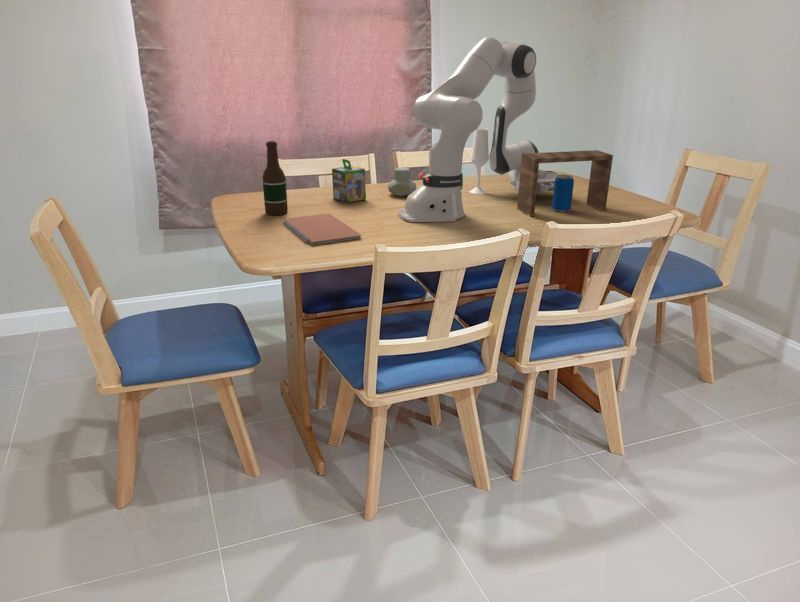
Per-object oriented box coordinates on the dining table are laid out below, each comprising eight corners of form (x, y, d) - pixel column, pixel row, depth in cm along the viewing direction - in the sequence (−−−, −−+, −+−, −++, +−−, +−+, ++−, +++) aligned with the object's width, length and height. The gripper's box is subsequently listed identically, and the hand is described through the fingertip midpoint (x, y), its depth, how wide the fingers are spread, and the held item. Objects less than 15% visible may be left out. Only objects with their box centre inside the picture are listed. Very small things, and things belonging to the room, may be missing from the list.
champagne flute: (482, 189, 249) (485, 127, 240) (489, 193, 244) (493, 130, 234) (466, 190, 248) (469, 128, 238) (473, 194, 242) (477, 130, 232)
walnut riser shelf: (529, 216, 213) (535, 158, 205) (517, 209, 222) (521, 153, 214) (605, 211, 220) (613, 155, 212) (590, 204, 229) (596, 150, 221)
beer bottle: (279, 209, 220) (274, 139, 211) (292, 213, 215) (288, 142, 206) (260, 213, 215) (254, 141, 206) (273, 217, 210) (268, 144, 201)
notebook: (281, 224, 205) (280, 218, 204) (329, 218, 212) (329, 212, 211) (308, 248, 182) (308, 241, 182) (361, 240, 189) (361, 234, 189)
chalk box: (366, 200, 233) (365, 159, 227) (345, 203, 228) (344, 162, 222) (352, 195, 240) (351, 156, 234) (332, 198, 235) (330, 158, 229)
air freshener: (386, 197, 238) (386, 170, 234) (389, 191, 245) (389, 166, 241) (415, 198, 236) (415, 171, 232) (417, 192, 244) (417, 167, 240)
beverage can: (570, 213, 217) (575, 178, 213) (551, 212, 219) (555, 178, 214) (570, 208, 223) (574, 175, 218) (551, 207, 224) (554, 174, 220)
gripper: (509, 174, 234) (526, 181, 222) (558, 171, 239) (577, 178, 227) (508, 190, 237) (524, 199, 224) (557, 187, 242) (575, 195, 230)
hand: (551, 189), depth 226 cm, fingers closed
